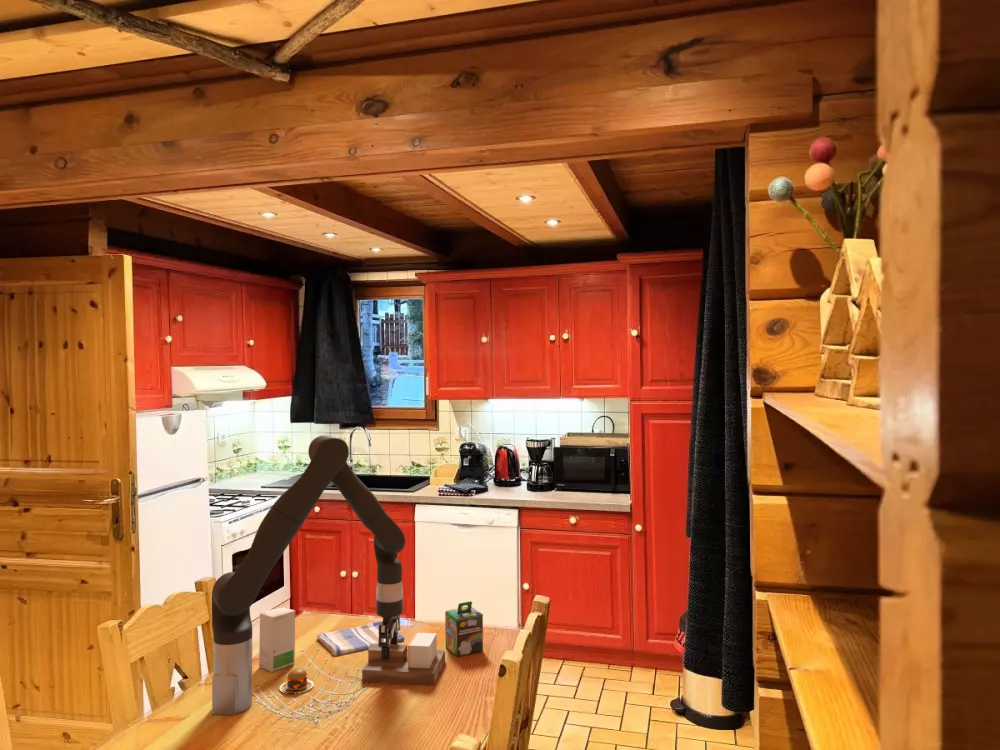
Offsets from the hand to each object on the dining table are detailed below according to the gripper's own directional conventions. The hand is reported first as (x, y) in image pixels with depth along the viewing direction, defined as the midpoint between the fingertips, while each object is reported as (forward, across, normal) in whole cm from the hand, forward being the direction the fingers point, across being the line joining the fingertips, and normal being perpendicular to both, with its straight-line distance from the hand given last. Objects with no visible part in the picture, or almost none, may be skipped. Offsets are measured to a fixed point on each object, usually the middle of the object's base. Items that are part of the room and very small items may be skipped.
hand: (389, 653), depth 198 cm
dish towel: (+6, +22, +16) cm, 27 cm away
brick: (-2, 0, -7) cm, 7 cm away
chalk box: (+5, +18, -19) cm, 26 cm away
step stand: (+5, 0, -4) cm, 7 cm away
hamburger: (+6, -14, +22) cm, 26 cm away
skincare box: (+5, 0, +34) cm, 34 cm away
